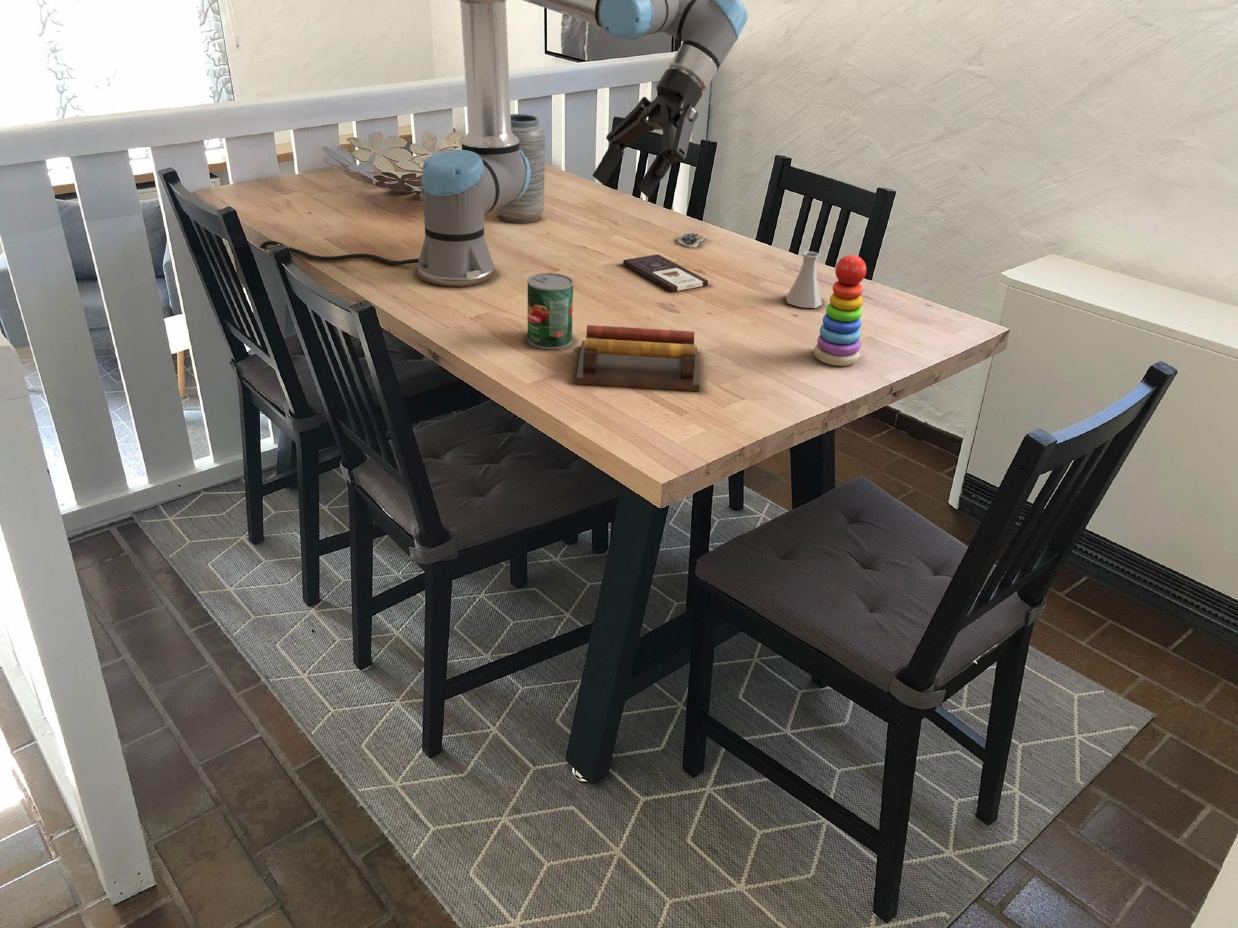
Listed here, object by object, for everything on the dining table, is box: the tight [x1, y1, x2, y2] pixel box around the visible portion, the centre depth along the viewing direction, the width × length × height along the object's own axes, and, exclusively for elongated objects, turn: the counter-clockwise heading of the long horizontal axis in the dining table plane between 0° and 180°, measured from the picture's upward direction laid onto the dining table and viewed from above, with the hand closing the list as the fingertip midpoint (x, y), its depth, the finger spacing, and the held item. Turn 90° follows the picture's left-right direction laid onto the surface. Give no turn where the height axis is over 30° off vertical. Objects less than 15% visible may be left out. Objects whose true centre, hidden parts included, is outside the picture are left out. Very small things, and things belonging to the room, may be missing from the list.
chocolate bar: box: [622, 253, 709, 293], centre depth 205 cm, size 9×1×18 cm
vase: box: [495, 113, 546, 224], centre depth 229 cm, size 12×12×23 cm
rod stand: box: [575, 324, 701, 392], centre depth 164 cm, size 20×15×6 cm
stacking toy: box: [813, 254, 867, 367], centre depth 168 cm, size 8×8×19 cm
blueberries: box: [676, 232, 707, 248], centre depth 225 cm, size 7×8×2 cm
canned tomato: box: [526, 272, 574, 350], centre depth 171 cm, size 8×8×11 cm
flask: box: [785, 250, 823, 309], centre depth 194 cm, size 7×7×10 cm
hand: (620, 186), depth 169 cm, fingers open, 13 cm apart
